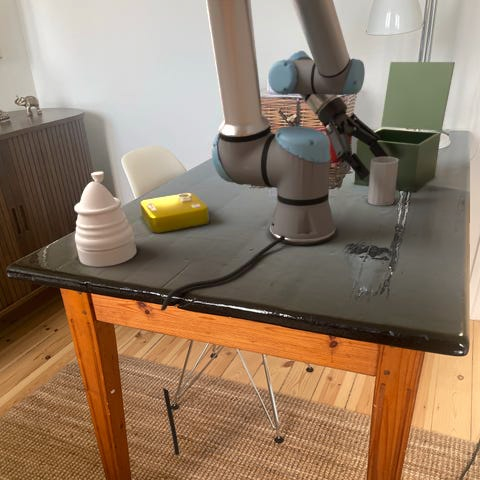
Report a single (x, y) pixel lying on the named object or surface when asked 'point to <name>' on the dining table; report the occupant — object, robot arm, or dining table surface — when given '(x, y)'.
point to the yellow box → (174, 212)
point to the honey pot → (102, 227)
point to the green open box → (404, 156)
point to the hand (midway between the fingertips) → (377, 170)
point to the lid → (417, 95)
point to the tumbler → (382, 180)
